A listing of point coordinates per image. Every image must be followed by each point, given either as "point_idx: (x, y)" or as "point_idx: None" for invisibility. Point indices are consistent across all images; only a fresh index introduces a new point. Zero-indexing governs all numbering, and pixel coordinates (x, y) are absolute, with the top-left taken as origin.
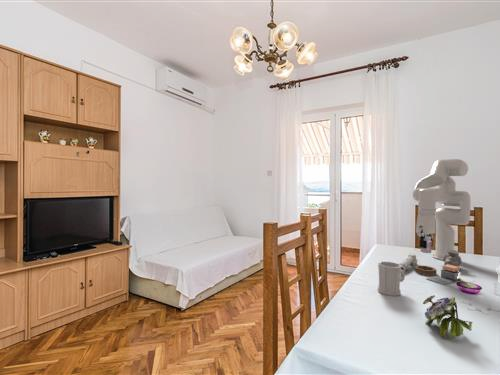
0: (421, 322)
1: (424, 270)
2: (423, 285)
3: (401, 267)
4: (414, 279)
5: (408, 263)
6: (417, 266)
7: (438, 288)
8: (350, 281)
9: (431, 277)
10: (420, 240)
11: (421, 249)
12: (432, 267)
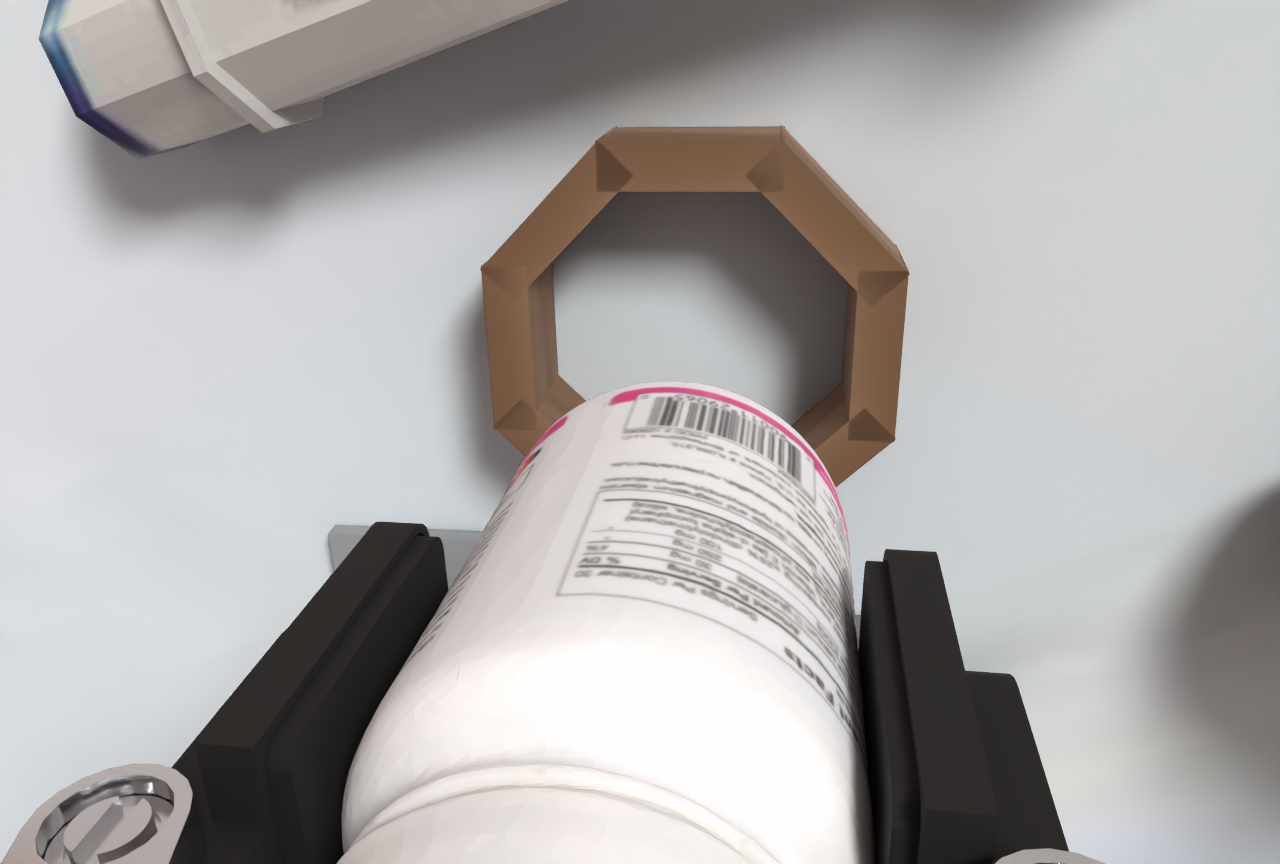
0: None
1: (500, 430)
2: (56, 620)
3: (84, 118)
4: (139, 425)
5: (506, 12)
6: (646, 189)
7: (162, 762)
8: None
9: (459, 553)
10: (226, 748)
11: (507, 493)
12: (887, 416)
